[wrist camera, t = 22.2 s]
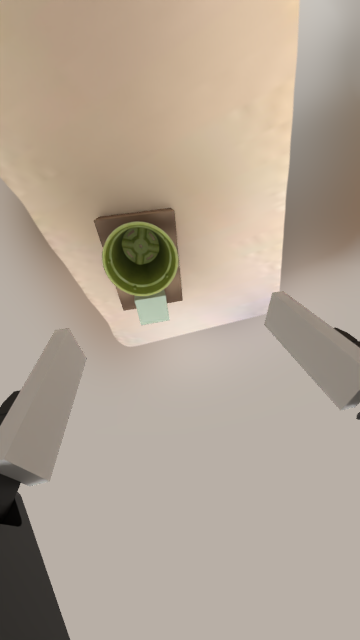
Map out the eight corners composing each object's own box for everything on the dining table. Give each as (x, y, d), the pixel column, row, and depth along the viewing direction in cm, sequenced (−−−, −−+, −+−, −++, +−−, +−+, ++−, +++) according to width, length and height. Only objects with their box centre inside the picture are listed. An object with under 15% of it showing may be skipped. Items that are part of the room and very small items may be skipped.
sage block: (135, 284, 34) (134, 300, 29) (161, 280, 34) (165, 295, 29) (141, 307, 37) (141, 325, 32) (165, 303, 37) (169, 320, 32)
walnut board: (98, 217, 30) (93, 220, 27) (170, 208, 31) (174, 210, 28) (125, 300, 40) (123, 310, 36) (179, 291, 41) (182, 300, 37)
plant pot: (180, 250, 31) (192, 268, 25) (139, 283, 34) (139, 308, 27) (143, 198, 26) (144, 201, 19) (97, 241, 28) (84, 258, 21)
